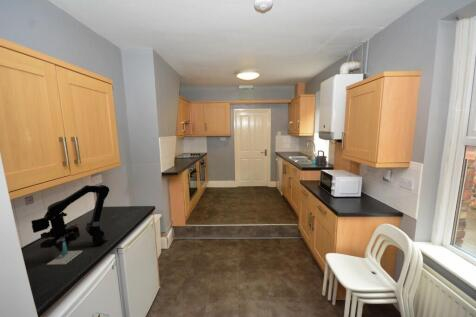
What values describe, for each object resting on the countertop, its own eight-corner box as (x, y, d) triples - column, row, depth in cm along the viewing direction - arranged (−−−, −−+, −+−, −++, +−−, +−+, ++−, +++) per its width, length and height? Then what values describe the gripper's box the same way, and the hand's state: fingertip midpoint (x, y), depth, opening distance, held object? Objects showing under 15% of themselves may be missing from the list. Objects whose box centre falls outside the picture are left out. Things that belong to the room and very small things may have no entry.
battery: (80, 235, 145) (77, 222, 144) (75, 240, 139) (72, 227, 137) (73, 236, 144) (70, 223, 143) (68, 241, 138) (65, 228, 136)
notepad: (66, 252, 125) (65, 251, 125) (82, 251, 124) (82, 250, 124) (46, 265, 113) (46, 264, 113) (64, 264, 113) (64, 263, 112)
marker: (64, 252, 120) (61, 237, 119) (69, 252, 120) (66, 237, 118) (59, 256, 117) (56, 240, 116) (64, 255, 117) (61, 240, 115)
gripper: (60, 218, 125) (65, 241, 128) (27, 234, 107) (34, 260, 109) (76, 217, 125) (81, 240, 127) (47, 233, 106) (53, 259, 109)
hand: (63, 249), depth 118 cm, fingers closed on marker, 3 cm apart
